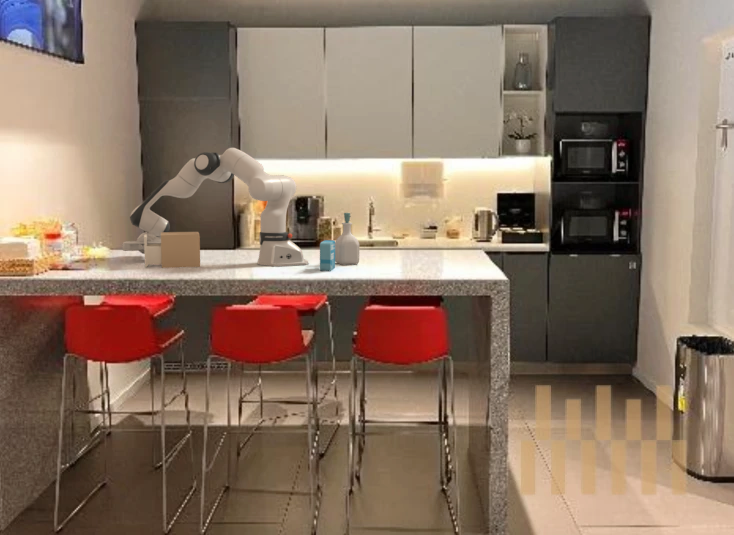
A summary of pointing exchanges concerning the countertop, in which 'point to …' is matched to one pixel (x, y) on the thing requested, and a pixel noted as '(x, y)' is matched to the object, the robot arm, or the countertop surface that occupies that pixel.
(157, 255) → the inner tray
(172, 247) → the carton
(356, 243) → the soap bottle
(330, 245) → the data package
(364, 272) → the countertop surface
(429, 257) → the countertop surface
